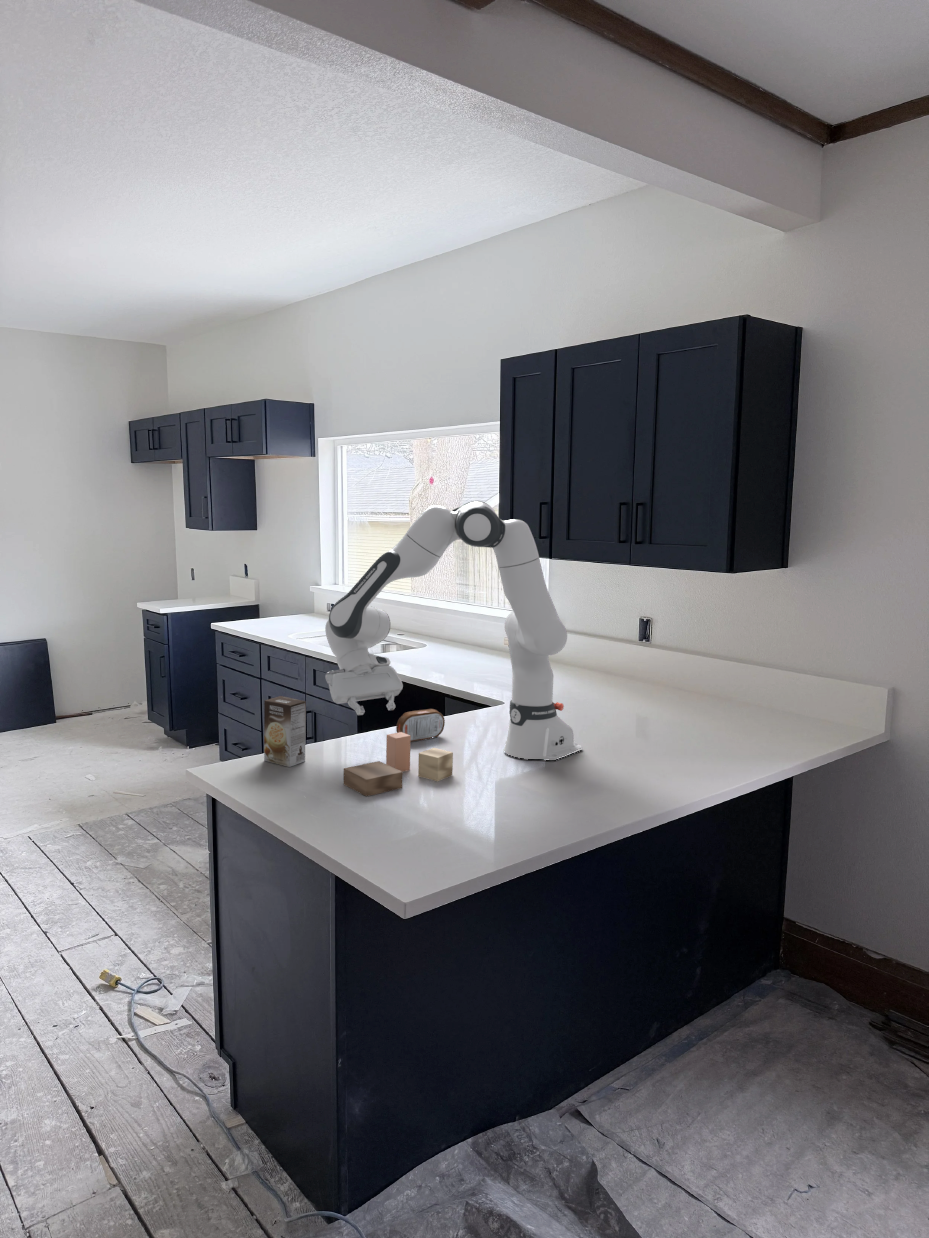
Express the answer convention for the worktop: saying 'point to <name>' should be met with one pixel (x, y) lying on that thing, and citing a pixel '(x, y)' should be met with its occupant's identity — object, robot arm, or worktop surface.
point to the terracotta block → (398, 751)
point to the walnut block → (373, 778)
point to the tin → (421, 724)
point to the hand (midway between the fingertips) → (377, 711)
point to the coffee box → (284, 731)
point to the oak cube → (435, 764)
